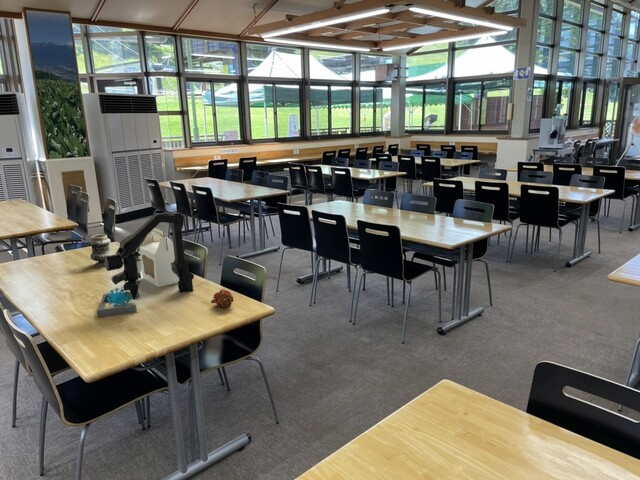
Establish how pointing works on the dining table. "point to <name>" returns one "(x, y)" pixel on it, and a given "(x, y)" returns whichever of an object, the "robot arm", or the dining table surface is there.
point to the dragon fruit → (222, 298)
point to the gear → (118, 297)
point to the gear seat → (115, 310)
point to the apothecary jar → (99, 249)
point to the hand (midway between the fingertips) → (134, 298)
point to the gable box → (158, 259)
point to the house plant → (138, 260)
